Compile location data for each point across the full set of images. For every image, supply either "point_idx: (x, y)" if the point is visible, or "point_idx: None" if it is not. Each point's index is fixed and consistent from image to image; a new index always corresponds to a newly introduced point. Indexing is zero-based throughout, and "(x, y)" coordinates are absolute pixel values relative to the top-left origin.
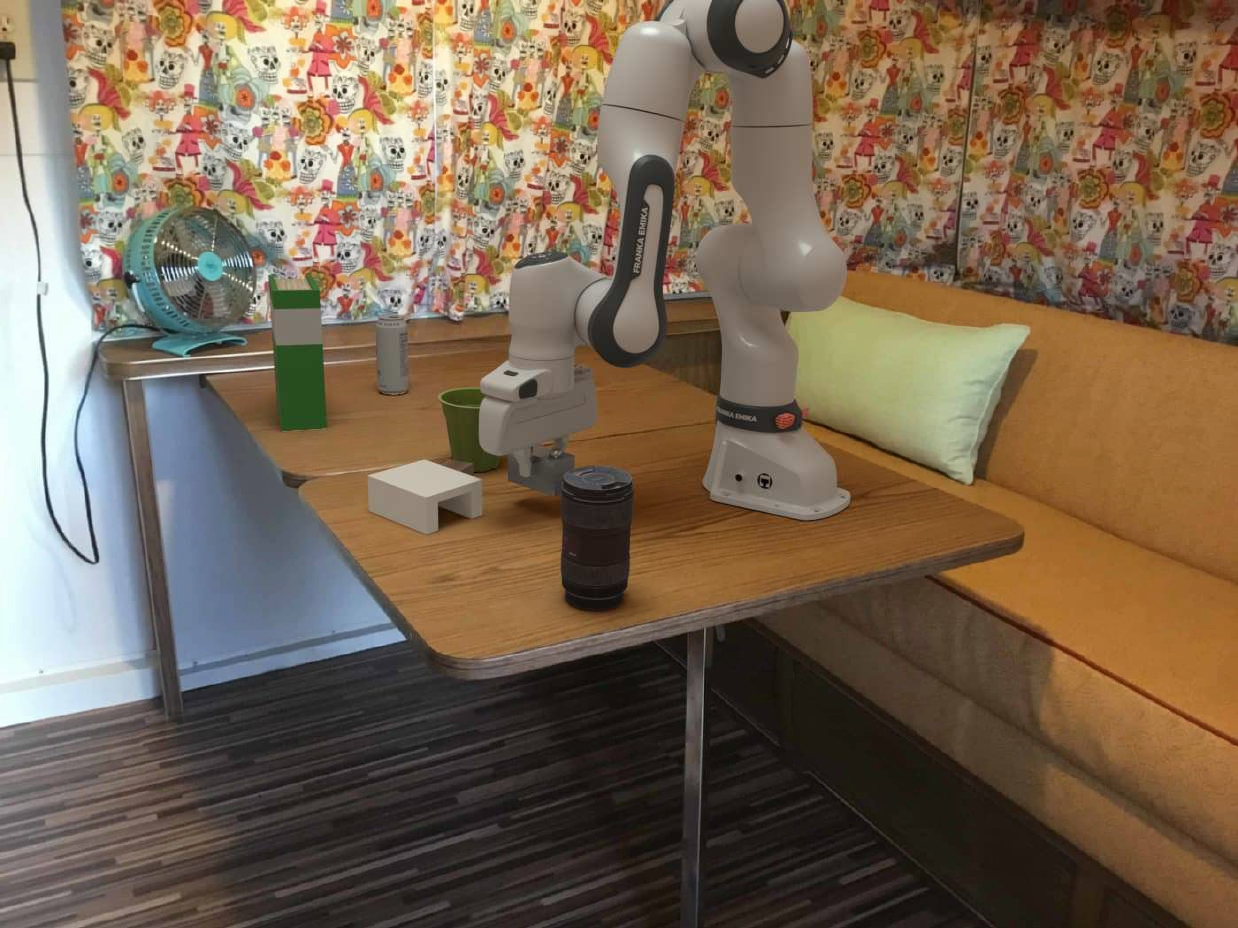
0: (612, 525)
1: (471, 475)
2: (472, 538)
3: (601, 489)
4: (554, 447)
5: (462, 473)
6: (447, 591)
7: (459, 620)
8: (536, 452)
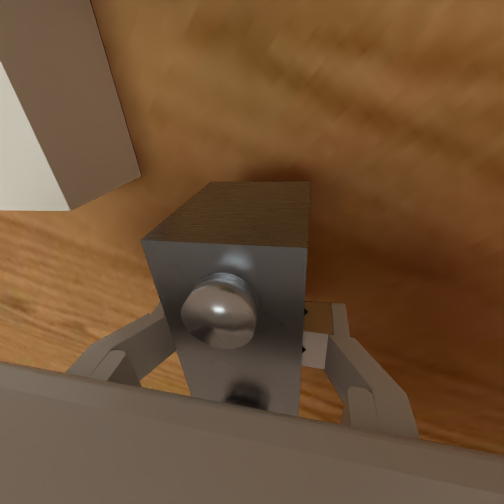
0: None
1: None
2: (82, 247)
3: None
4: (342, 366)
5: (15, 106)
6: (15, 323)
7: (18, 358)
8: (212, 362)
